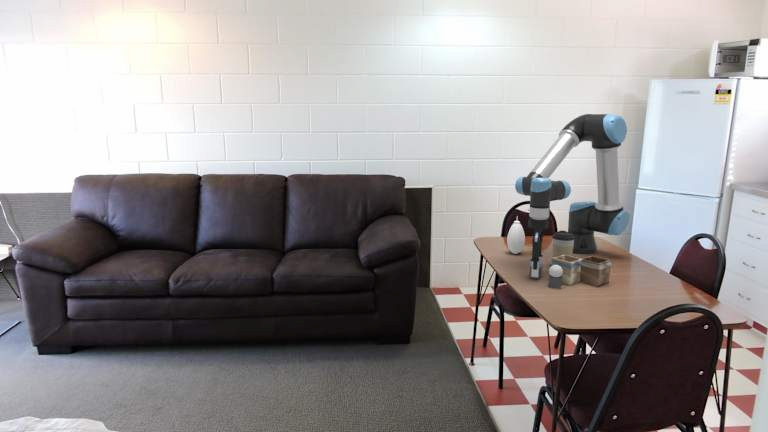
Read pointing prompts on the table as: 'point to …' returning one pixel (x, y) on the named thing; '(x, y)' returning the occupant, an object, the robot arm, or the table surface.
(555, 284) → the stand grey
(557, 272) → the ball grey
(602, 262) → the brown open container
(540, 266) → the ball blue
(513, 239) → the sauce bottle
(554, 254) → the coffee cup
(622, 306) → the table surface
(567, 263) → the open beige box
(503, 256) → the table surface
